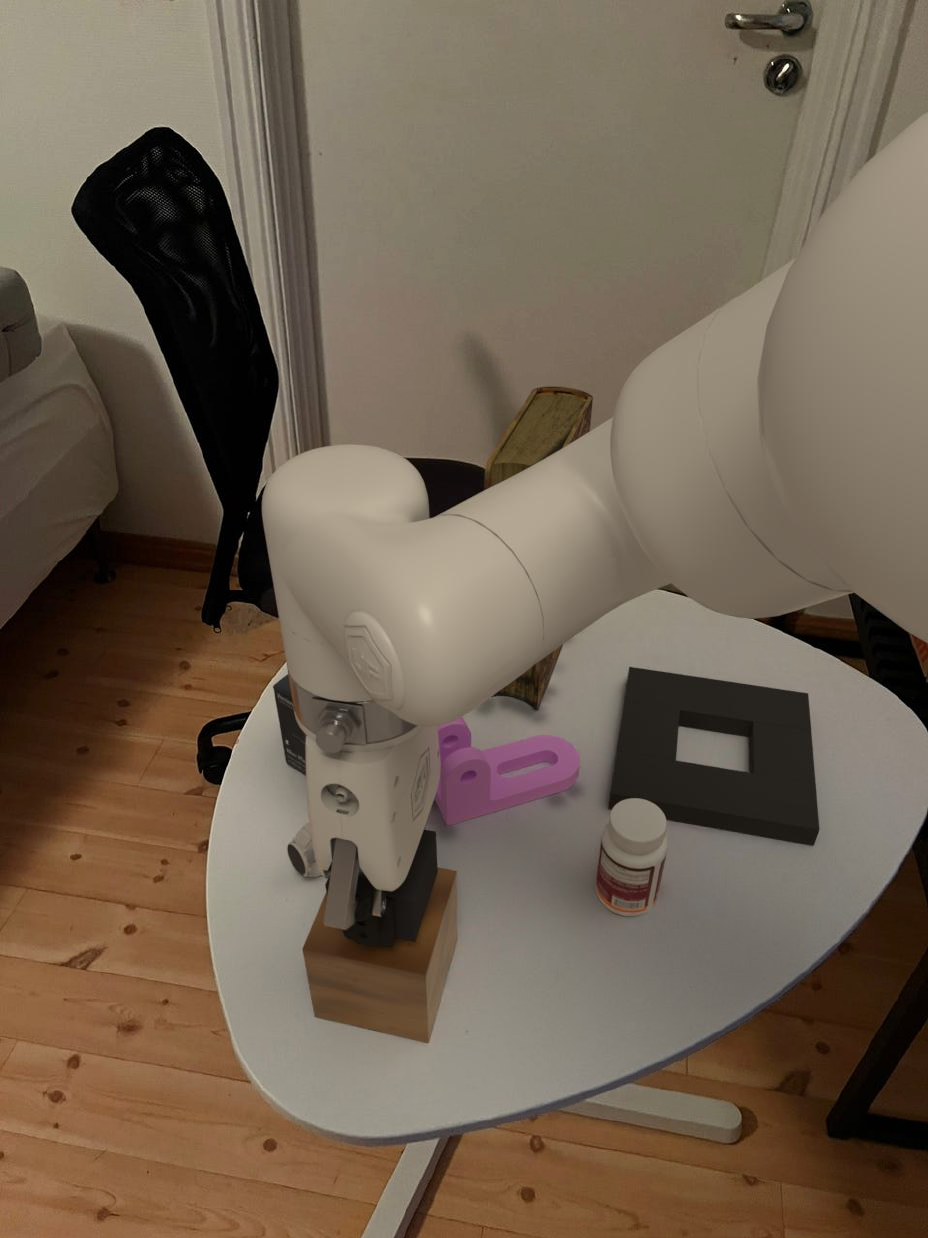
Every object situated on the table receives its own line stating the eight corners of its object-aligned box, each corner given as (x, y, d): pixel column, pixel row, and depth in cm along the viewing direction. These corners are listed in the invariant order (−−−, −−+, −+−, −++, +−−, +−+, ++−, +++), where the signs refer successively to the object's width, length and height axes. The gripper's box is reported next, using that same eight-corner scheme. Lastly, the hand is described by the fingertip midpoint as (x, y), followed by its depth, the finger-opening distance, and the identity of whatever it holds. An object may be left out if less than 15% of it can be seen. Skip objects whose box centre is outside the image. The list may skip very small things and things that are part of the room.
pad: (415, 942, 57) (412, 902, 54) (331, 925, 58) (324, 884, 55) (437, 871, 61) (436, 831, 59) (359, 857, 62) (354, 816, 60)
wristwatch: (289, 871, 73) (281, 829, 69) (342, 838, 75) (337, 796, 72) (309, 895, 71) (302, 853, 68) (363, 860, 73) (359, 818, 70)
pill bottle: (623, 856, 74) (635, 783, 69) (670, 894, 71) (686, 822, 66) (581, 888, 71) (590, 815, 66) (628, 930, 68) (641, 857, 63)
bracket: (447, 826, 76) (446, 766, 72) (424, 778, 80) (422, 719, 76) (589, 783, 80) (596, 724, 76) (561, 739, 84) (566, 681, 80)
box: (283, 765, 81) (269, 684, 76) (326, 729, 85) (316, 648, 79) (364, 814, 77) (356, 731, 71) (406, 773, 81) (402, 692, 75)
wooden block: (428, 1044, 62) (425, 976, 57) (314, 1017, 63) (301, 949, 58) (457, 939, 68) (456, 870, 63) (352, 918, 69) (344, 848, 64)
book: (525, 603, 100) (536, 383, 85) (575, 613, 99) (595, 391, 84) (480, 702, 88) (484, 465, 72) (536, 715, 86) (552, 476, 71)
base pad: (813, 846, 74) (819, 829, 73) (608, 809, 77) (610, 793, 76) (803, 709, 87) (808, 693, 86) (627, 682, 90) (629, 666, 89)
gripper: (383, 817, 41) (404, 1036, 52) (471, 596, 54) (473, 807, 65) (226, 789, 43) (278, 1008, 53) (348, 581, 56) (370, 789, 67)
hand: (385, 895), depth 59 cm, fingers closed on pad, 5 cm apart
